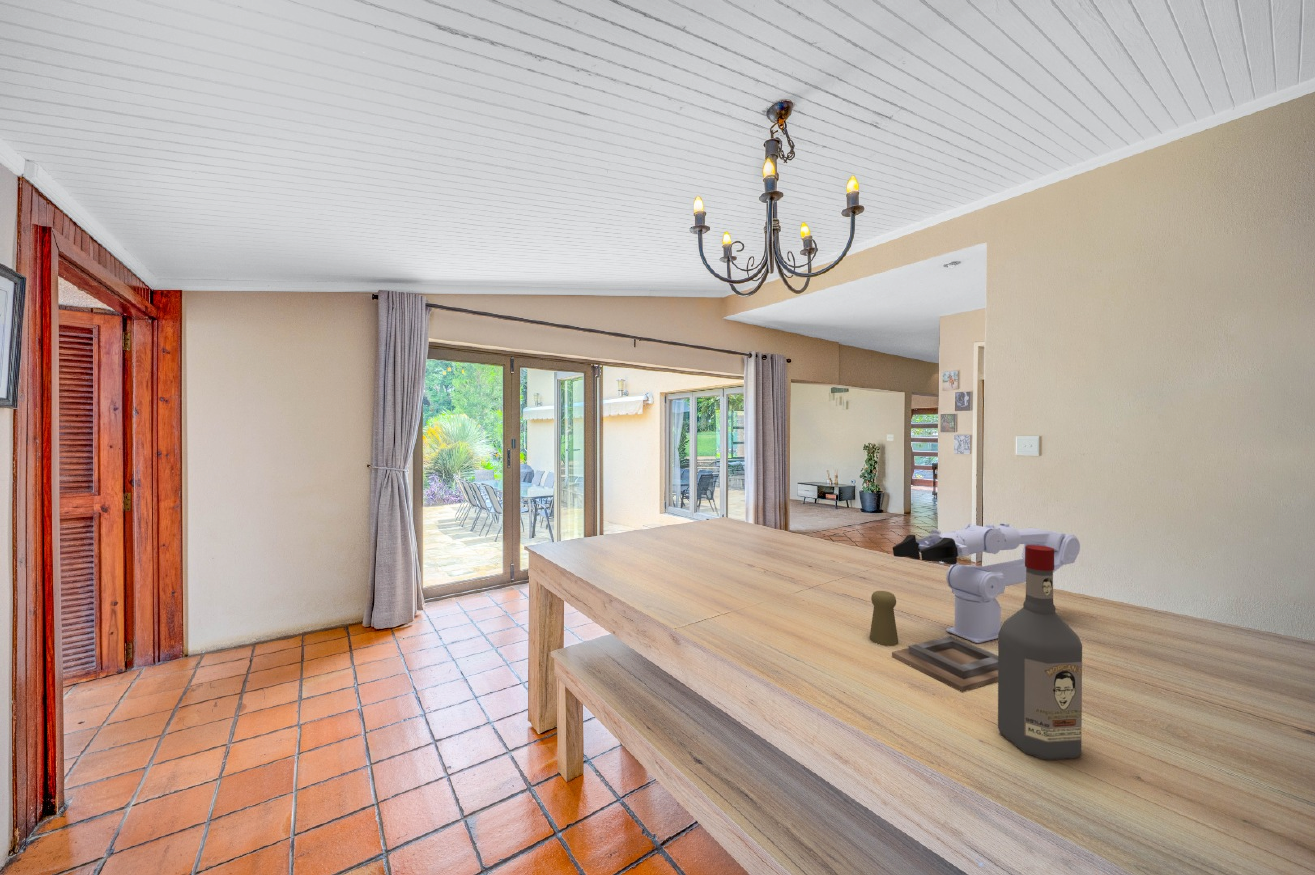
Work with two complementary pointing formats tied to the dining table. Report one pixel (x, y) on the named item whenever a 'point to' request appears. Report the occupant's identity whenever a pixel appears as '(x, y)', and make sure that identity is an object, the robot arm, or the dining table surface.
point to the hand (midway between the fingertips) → (908, 553)
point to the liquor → (1040, 670)
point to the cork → (883, 619)
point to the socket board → (945, 674)
